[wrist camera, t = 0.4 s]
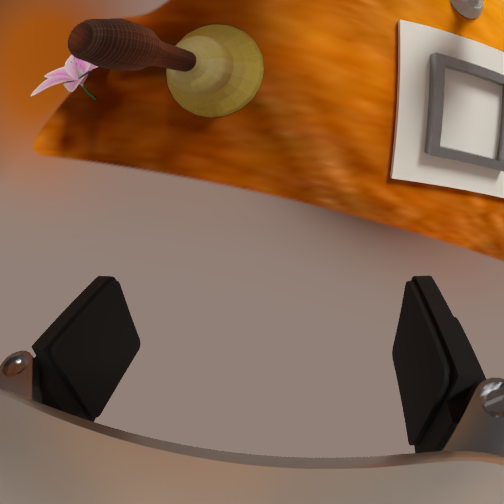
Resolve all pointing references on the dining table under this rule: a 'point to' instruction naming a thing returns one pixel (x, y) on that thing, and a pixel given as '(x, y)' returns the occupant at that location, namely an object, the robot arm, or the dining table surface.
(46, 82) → the lily
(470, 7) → the chalice
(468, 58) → the board
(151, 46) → the handbell
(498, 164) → the collar
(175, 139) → the dining table surface
